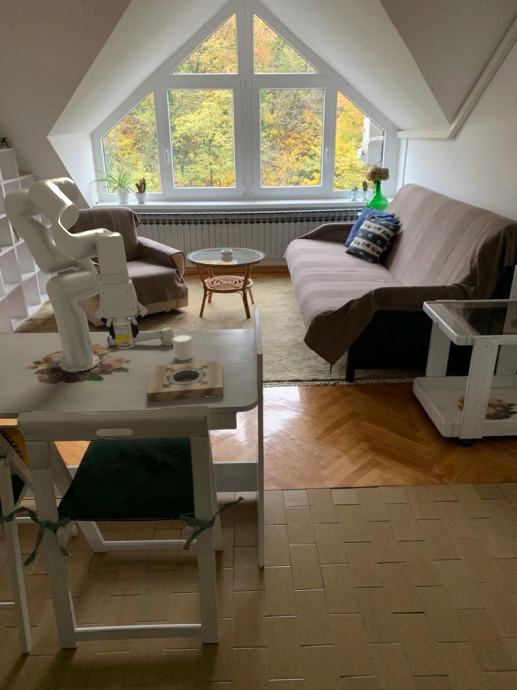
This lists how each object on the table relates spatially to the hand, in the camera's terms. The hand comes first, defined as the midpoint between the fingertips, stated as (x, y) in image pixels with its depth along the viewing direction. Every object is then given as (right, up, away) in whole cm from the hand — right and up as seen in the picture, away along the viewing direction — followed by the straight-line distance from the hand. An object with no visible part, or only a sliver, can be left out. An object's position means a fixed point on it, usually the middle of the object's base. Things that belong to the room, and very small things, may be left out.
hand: (124, 336), depth 161 cm
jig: (+17, -15, +8) cm, 24 cm away
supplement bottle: (0, -3, +1) cm, 3 cm away
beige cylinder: (+14, -7, +27) cm, 31 cm away
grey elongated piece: (-3, -3, +39) cm, 39 cm away
